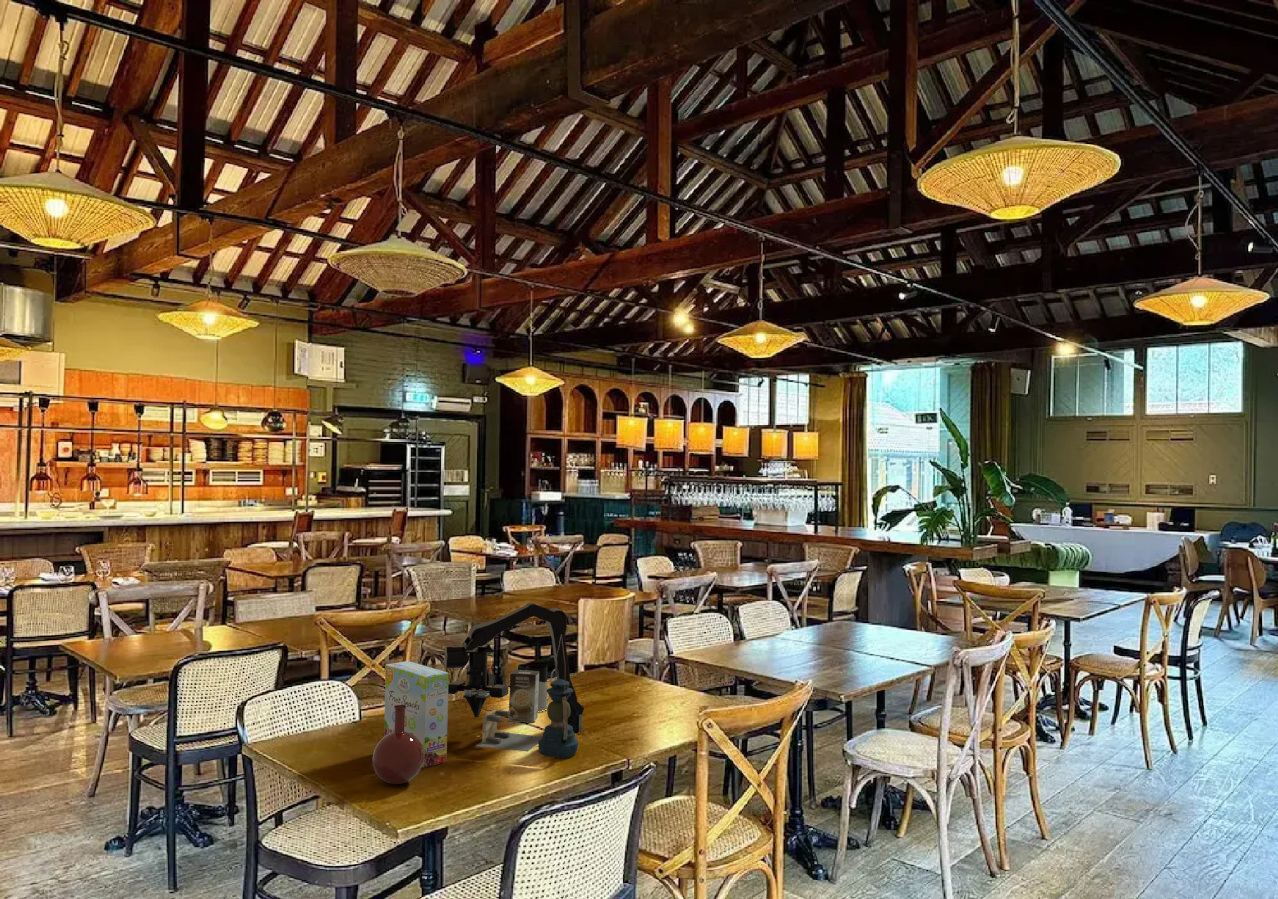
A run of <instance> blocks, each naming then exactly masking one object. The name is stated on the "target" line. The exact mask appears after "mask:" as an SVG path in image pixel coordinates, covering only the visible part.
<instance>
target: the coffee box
mask: <svg viewBox="0 0 1278 899" xmlns="http://www.w3.org/2000/svg"><path fill="white" fill-rule="evenodd" d="M538 691H539V671H528V670H526V669H513V671H511V672H510V675H509V693H508V696H509V699H508V700H509V701H508V711H510V716H509V717H508V720H509V721H508V720H507V721H508V722H515V721H525V722H524V723H532V722H534V721H535V720H537V719H538V714H539V713H538ZM535 722H536V721H535ZM535 722H534V723H535Z"/></svg>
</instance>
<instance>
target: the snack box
mask: <svg viewBox="0 0 1278 899" xmlns="http://www.w3.org/2000/svg"><path fill="white" fill-rule="evenodd" d="M384 668H385V670H384V671H385V672H384V674H385V675H384V677H385V678H384V681H385V682H384V684H385V685H384V720H383V721H384V722H383V723H384V727H383V729H384V731H383V733H384V734H383V737H385V736H386V735H388V734H390V733H393V732H394V725H395V709H394V706H396V705H405V706H406V708H405V728H404V732H408V733H411V734H413V735H414V736H416V737H417V738H418V739H419V741H420V742H421V744H422V746H423V750H424V761H423V765H422V767H421V768H424V769H425V768H429V767H433V766H436V765H439V764H445V763H447V762H448V758H447V757H448V756H447V755H448V754H447V752H448V751H447V750H448V714H449V713H448V712H449V711H448V709H449V694H448V684H449V680H450V679H449V674H450V673H449V672H447V671H444V670H441V669H437V668H434V667H431V666H430V667H429V666H427V665H424V664H420V663H416V662H412V661H410V660H406V661H401V662H393V663H387V664H385V666H384Z"/></svg>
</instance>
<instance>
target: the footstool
mask: <svg viewBox="0 0 1278 899" xmlns="http://www.w3.org/2000/svg"><path fill="white" fill-rule="evenodd" d="M509 716H510V711H509V710H503V709H493V710H491V711H489V712H487V713H486V714H484V715H482V733H481V734H482V738H481V742H483V743H493V744H500V743H501V738H509V736H510V733H511V732H509V731H500V730H499V731H498V723H501V722H502V717H506V718H507V717H508V718H509ZM494 737H500V738H494Z"/></svg>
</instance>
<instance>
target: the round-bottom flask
mask: <svg viewBox="0 0 1278 899" xmlns="http://www.w3.org/2000/svg"><path fill="white" fill-rule="evenodd" d="M405 708H406V706H405V705H396V706H394V709H395V725H394V732H393V733H390V734H388V735H386V736H385V737H384V736H383V737H382V738H381V739H380V740H379V741H378V742H377V744H376V746H375V748H374V750H373V754H372V767H373V770H374V772H375V774H376V775H377V777H378V778H380V779H381V781H383V782H385V783H388V784H391V785H402V784H406V783H408V782H410V781H412V779H414V778H416V776H417V775H418V774H419V773H420V771H421V769H422V768H423V767H422V765H423V761H424V750H423V746H422V744H421V742H420V741H419V739H418V738H417V737H416V736H414V735H413V734H411V733H408V732H404V728H405Z"/></svg>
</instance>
